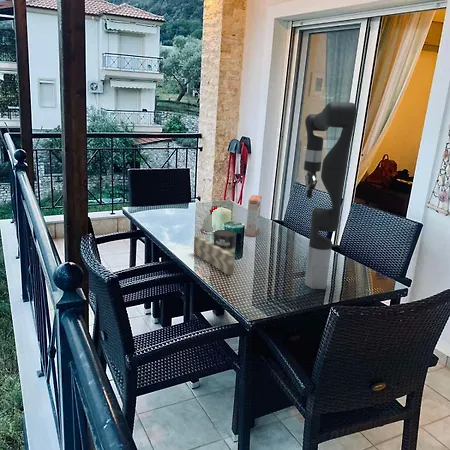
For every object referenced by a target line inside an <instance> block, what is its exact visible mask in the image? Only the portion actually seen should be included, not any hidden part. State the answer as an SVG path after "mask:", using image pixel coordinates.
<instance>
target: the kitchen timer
mask: <svg viewBox="0 0 450 450" xmlns="http://www.w3.org/2000/svg"><path fill="white" fill-rule="evenodd" d="M217 208H218V206H217V205H215V206H211V207H210V209H209V213H208V214H207V216H206V217H205V218H203V224H202V225H201V231H202V230H203V231H205V232H212V231H213V227H212V212H213V210H215V209H217Z"/></svg>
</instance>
